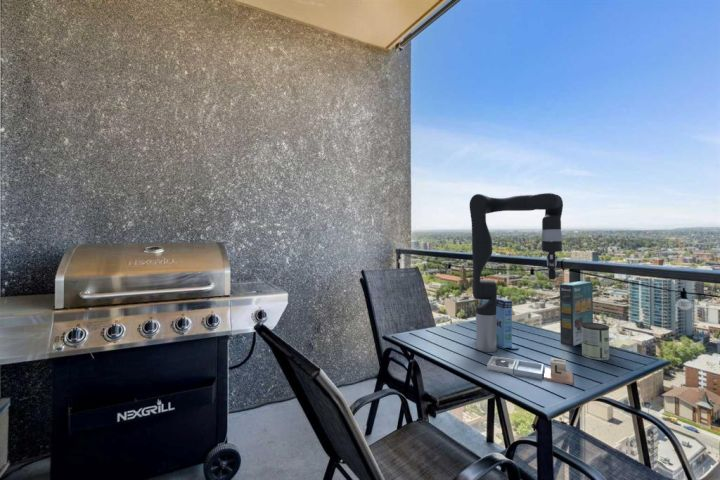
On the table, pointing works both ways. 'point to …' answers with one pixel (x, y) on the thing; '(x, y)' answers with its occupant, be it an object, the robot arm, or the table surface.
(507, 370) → the near tray
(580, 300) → the cake mix box
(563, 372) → the letter cube
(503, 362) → the grey domed disc
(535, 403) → the table surface
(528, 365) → the middle tray
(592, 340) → the coffee can
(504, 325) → the gum box
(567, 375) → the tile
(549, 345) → the table surface
